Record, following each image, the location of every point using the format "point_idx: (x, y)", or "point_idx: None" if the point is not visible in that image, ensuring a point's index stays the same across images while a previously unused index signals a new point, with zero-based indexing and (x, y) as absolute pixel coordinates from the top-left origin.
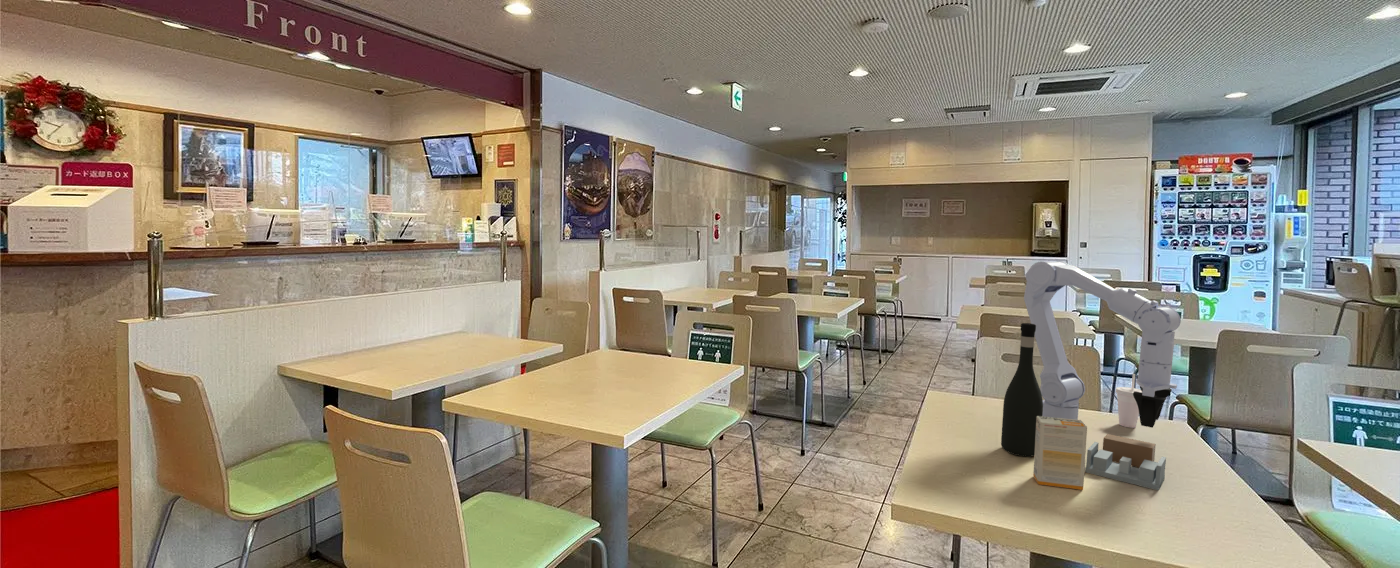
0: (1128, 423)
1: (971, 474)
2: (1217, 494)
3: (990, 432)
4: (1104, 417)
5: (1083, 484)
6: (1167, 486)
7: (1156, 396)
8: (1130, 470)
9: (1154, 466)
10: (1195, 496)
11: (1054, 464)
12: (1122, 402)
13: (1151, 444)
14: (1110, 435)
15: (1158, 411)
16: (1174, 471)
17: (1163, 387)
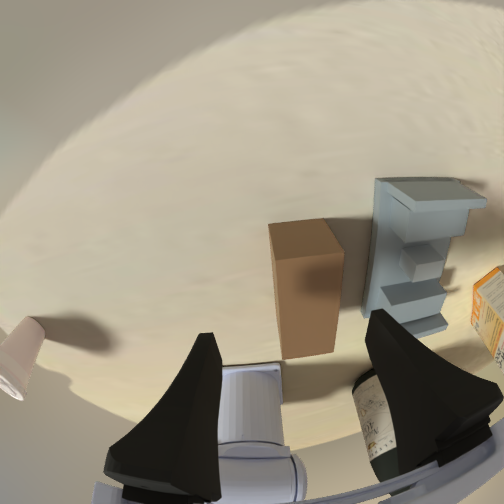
0: (37, 331)
1: (480, 349)
2: (390, 64)
3: (307, 420)
4: (40, 355)
5: (501, 272)
6: (420, 165)
7: (445, 440)
8: (404, 247)
9: (445, 211)
10: (439, 110)
11: None
12: (28, 373)
13: (296, 267)
14: (291, 352)
15: (414, 361)
16: (279, 171)
17: (453, 495)
